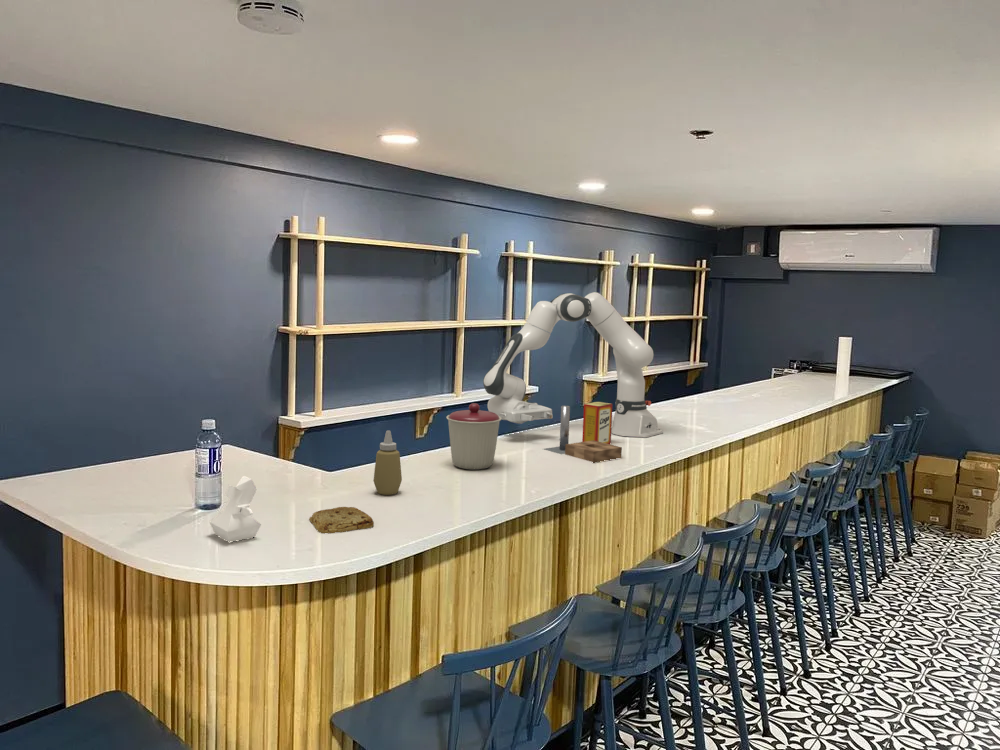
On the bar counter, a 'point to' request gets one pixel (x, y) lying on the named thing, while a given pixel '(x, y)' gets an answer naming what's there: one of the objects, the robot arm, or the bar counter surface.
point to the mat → (555, 450)
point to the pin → (564, 427)
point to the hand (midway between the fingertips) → (542, 417)
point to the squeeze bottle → (387, 467)
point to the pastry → (340, 520)
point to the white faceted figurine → (237, 513)
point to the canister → (473, 437)
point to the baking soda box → (597, 422)
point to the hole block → (593, 451)
